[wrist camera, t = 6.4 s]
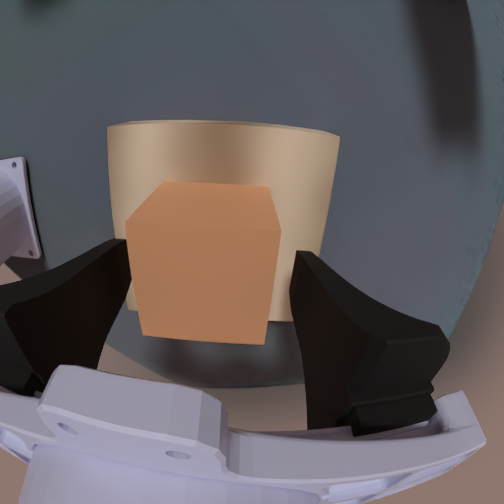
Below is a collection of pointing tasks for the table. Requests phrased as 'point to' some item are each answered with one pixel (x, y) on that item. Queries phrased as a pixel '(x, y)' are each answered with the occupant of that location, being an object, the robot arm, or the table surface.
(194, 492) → the robot arm
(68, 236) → the table surface
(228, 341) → the orange cube
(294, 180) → the birch block
